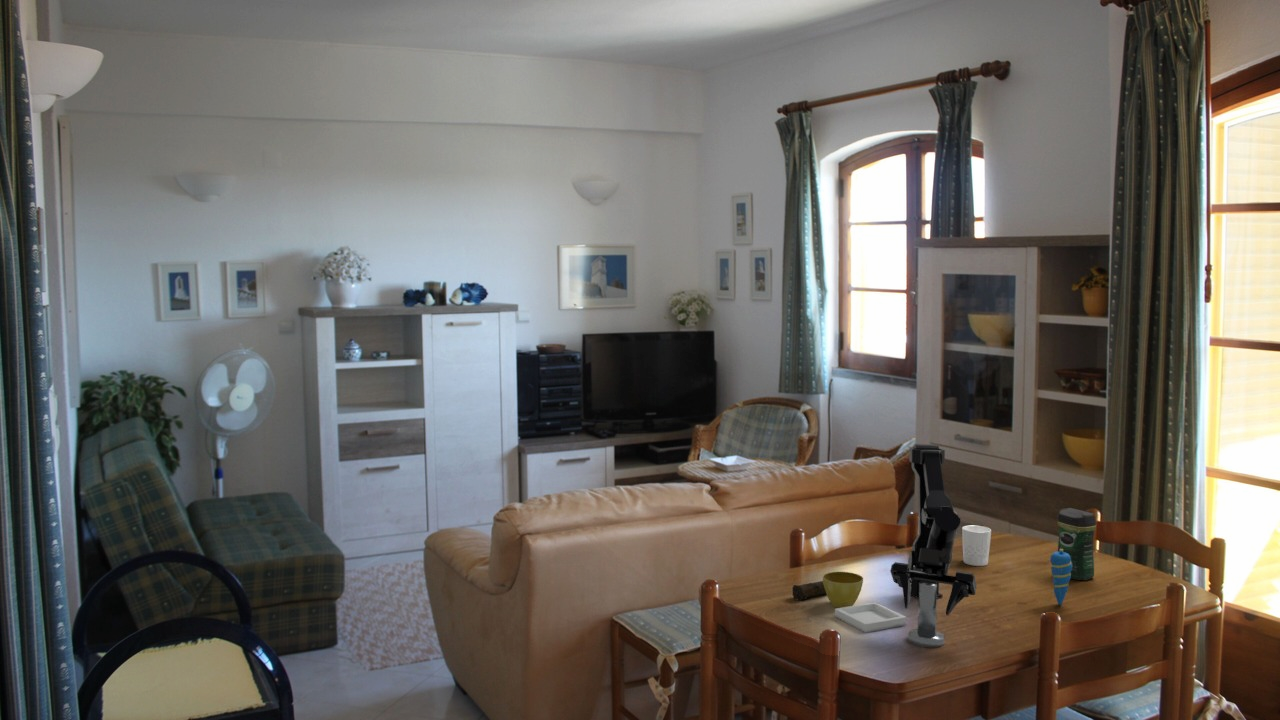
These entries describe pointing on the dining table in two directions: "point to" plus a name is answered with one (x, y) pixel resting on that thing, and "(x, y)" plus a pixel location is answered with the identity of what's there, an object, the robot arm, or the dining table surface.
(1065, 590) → the ornament
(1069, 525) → the coffee jar
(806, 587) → the hand tool
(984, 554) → the white cup
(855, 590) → the flower pot
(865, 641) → the dining table surface
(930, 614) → the steel stop
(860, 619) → the tray
